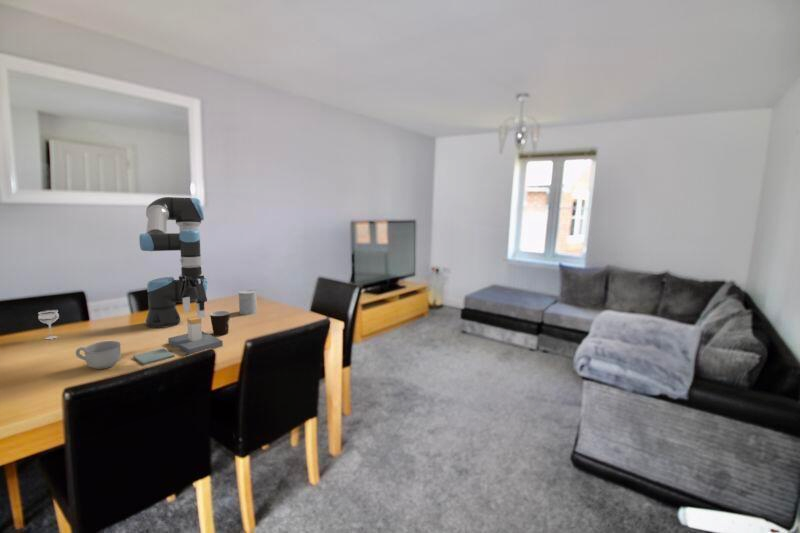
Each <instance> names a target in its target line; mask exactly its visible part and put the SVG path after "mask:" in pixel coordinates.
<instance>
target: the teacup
mask: <svg viewBox="0 0 800 533" xmlns="http://www.w3.org/2000/svg"><path fill="white" fill-rule="evenodd" d="M121 345H122V344H121V342H119V341H117V340H105V341H104V340H103V341H98V342H95V343H91V344H89V345H87V346H86V347H84V346H81V347H78V348H77V349H76V350H75V356H76V357H77V358H78V359H80V360H83V361H85V362H86V365H87V366H88V367H89V368H93V369H95V370H104V369H108V368H111V367H113V366H115V365H116V364H117V363H118V362H119V361H120V360H121V356H122V355H121V354H122V351H121ZM80 351H83V352H84V355H83V354H81V353H80Z"/></svg>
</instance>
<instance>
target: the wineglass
mask: <svg viewBox="0 0 800 533" xmlns="http://www.w3.org/2000/svg"><path fill="white" fill-rule="evenodd" d="M58 312H59V310H58V309H47V310H42V311H39V312H38V313H37V314H38V317H37V319H38V320H39V321H40V322H41V323H43V324H46V325H48V330H49V336H47V337H44V338H45V339H51V340H54V339H53V338H56V339H58V338H57V336H58V335H53V334H52V324H53V323H55V322H56V321H57V320H58V319H60V314H59V313H58Z"/></svg>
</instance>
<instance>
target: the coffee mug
mask: <svg viewBox="0 0 800 533" xmlns="http://www.w3.org/2000/svg"><path fill="white" fill-rule="evenodd" d="M230 315H231V313H230V311H228V310H218V311H212V312H211V313H210V314H209V317H210V322H211V328H212V334H213V336H217V337H220V336H221V337H222V336H225V335H228V334H229V327H230Z"/></svg>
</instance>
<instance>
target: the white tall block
mask: <svg viewBox="0 0 800 533" xmlns="http://www.w3.org/2000/svg"><path fill="white" fill-rule="evenodd" d="M186 319H187V323H186V324H187V334H188V340H189V341H191V342H194V341H198V340H202V331H203V330H202V318H198V316H194V317H193V316H192V317H189V318H186Z"/></svg>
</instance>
